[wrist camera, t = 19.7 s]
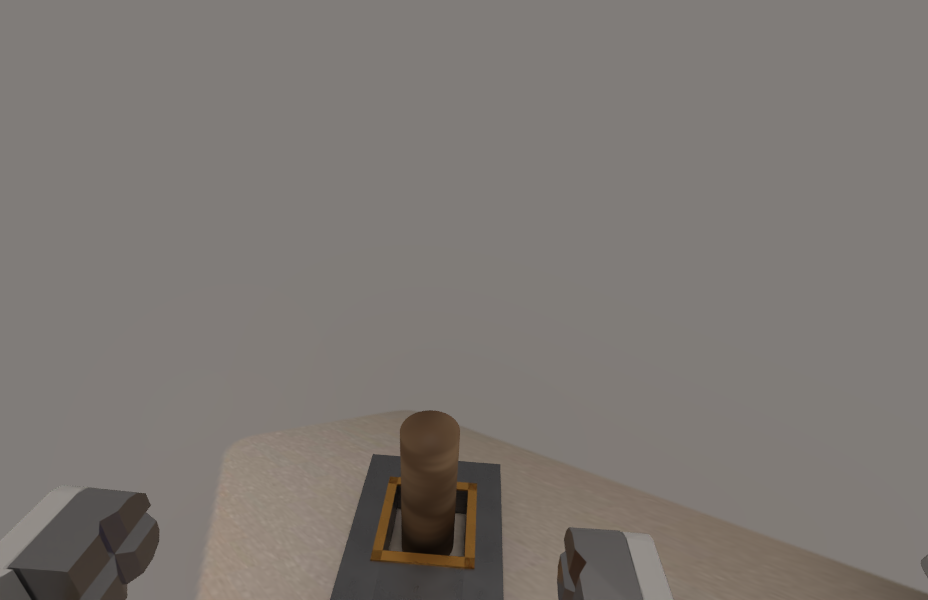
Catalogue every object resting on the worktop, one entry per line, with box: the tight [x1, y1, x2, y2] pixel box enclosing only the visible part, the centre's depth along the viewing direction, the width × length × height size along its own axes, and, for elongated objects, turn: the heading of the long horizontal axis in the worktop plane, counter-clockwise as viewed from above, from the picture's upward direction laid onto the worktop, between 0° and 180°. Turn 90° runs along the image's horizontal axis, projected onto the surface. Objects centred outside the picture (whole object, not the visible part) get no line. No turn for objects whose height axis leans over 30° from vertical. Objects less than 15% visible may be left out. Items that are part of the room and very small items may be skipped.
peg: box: [400, 411, 460, 556], centre depth 39 cm, size 4×4×13 cm
